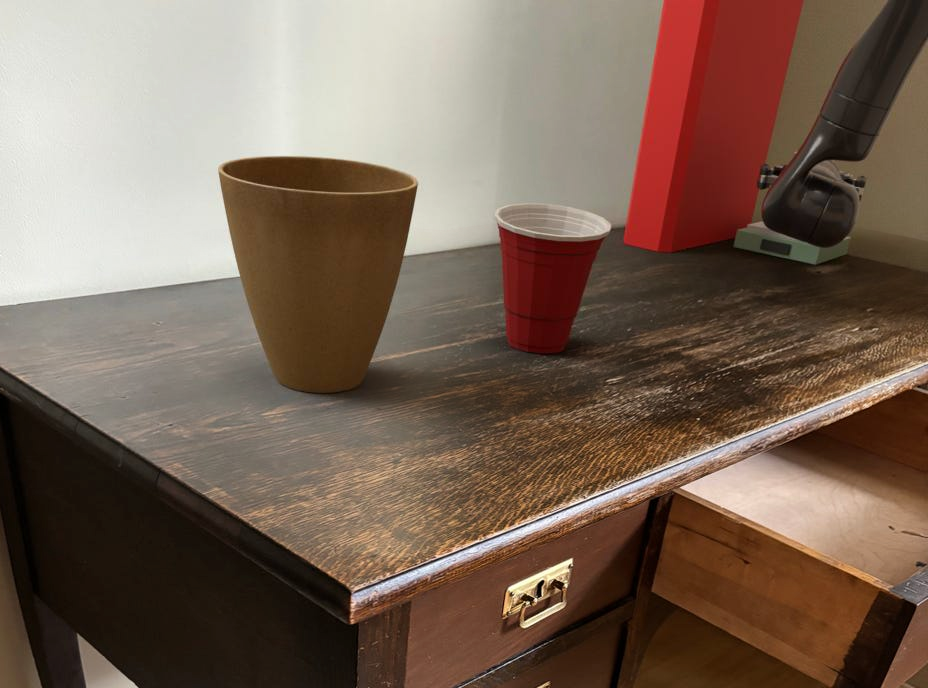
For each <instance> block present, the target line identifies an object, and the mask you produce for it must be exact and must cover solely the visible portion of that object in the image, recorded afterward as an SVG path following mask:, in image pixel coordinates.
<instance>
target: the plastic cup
mask: <svg viewBox="0 0 928 688" xmlns="http://www.w3.org/2000/svg"><path fill="white" fill-rule="evenodd" d="M493 218H494V221H495V222H496V225H497V229H498V236H499V239H500V241H499V242H500V250H501V264H502V265H501V266H502V285H503V286H502V288H503V307H504V309H505V312H504V313H505V335H506V337H507V339H506V340H507V344H508V345H509V346H510V347H512V348H514V349H516V350H520V351H522V352H527V353H534V354H557V353H560V352H562V351H564V350H565V348H566V345H567V343H568V341H569V338H570V335H571V331H572V328H573V324H574V321H575V318H576V317H577V315H578V312H579V309H580V305H581V302H582V299H583V296H584V293H585V290H586V286H587V283H588V280H589V276H590V273H591V271H592V268H593V264H594V262H595V260H596V258H597V255H598V251H600V248H601V246H602V243H603V242H604V240H605V239H606V237H607V236H609V235H610V231H611V228H612V223H611V222H609V221H608V220H607V219H606V218H605V217H603V216H600V215H598V214H596V213H593V212H591V211H587V210H583V209H579V208H576V207H571V206H565V205H558V204H550V203H528V202H526V203H525V202H524V203H516V204H515V203H514V204H507V205H505V206H502V207H498V208H496V210H495V212H494V214H493Z"/></svg>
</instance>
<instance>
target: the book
mask: <svg viewBox="0 0 928 688" xmlns="http://www.w3.org/2000/svg"><path fill="white" fill-rule="evenodd" d="M804 1H805V0H663V1H662V2H663V3H662V8H661V15H660V21H659V25H658V32H657V39H656V45H655V49H654V55H653V62H652V68H651V74H650V79H649V86H648V92H647V98H646V104H645V108H644V109H645V110H644V115H643V122H642V126H641V127H642V128H641V134H640V140H639V145H638V151H637V157H636V162H635V167H634V168H635V170H634V175H633V181H632V187H631V192H630V197H629V198H630V199H629V204H628V210H627V216H626V223H625V229H624V234H623V241H622V242H623V244H624V245H628V246H632V247H636V248H640V249H645V250H648V251H649V250H650V251H653V252H659V253H674V252H678V250H679V251H683V250H687V248H688V249H691V248H696V247H701V246H705V245H710V244H714V243H718V242H722V241H723V242H724V241H727V240H730V239H735V238H736V233H737V230H739V229H743V228H747V225H748V224H752V223H753V217H754V215H755V209H756V206H757V205H756V204H757V200H758V196H759V192H760V188H757V180H758V178H759V173H760V167H761V164H767V163H766V161H767V159H768V154H769V149H770V146H771V141H772V137H773V132H774V128H775V124H776V120H777V115H778V111H779V106H780V102H781V99H782V95H783V90H784V85H785V80H786V78H787V73H788V68H789V65H790V60H791V55H792V52H793V48H794V43H795V39H796V34H797V30H798V26H799V23H800V17H801V14H802V9H803V5H804Z"/></svg>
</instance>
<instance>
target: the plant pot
mask: <svg viewBox="0 0 928 688" xmlns="http://www.w3.org/2000/svg"><path fill="white" fill-rule="evenodd" d="M217 171H218V177H219V185H220V190H221V195H222V201H223V205H224V211H225V215H226V222H227V226H228V231H229V237H230V241H231V244H232V249H233V254H234V258H235V262H236V265H237V266H236V267H237V270H238V273H239V278H240V281H241V285H242V289H243V291H244V295H245V298H246V301H247V306H248V308H249V311H250V315H251V318H252V322H253V324H254V327H255V329H256V333H257V336H258V338H259V341H260V343H261V346H262V349H263V352H264V355H265V356H266V357H265V358H266V360H267V362H268V364H269V366H270V369H271V371H272V374H273V376H274V378H275V380H276V381H277V382H278V383H279V384H281V385H282V386H284V387H286V388H289V389H291V390H294V391H299V392H305V393H316V394H317V393H318V394H324V393H325V394H331V393H341V392H346V391H349V390H352V389H354V388H357V387H358V386H360V385H361V384H362V383H363V381H364V378H365V376H366V373H367V371H368V369H369V366H370V363H371V361H372V359H373V356H374V354H375V351H376V348H377V346H378V343H379V341H380V338H381V335H382V332H383V331H384V330H383V329H384V326H385V324H386V321H387V317H388V315H389V312H390V309H391V305H392V302H393V299H394V295H395V291H396V289H397V288H396V287H397V284H398V280H399V277H400V272H401V269H402V265H403V261H404V257H405V251H406V248H407V243H408V238H409V235H410V228H411V223H412V218H413V212H414V208H415V207H414V206H415V202H416V197H417V192H418V187H419V181H418V179H417V178H416V177H414V176H413V175H411V174H409V173H407V172H405V171H401V170H400V169H399V170H398V169H396V168H393V167H389V166H385V165H381V164H375V163H371V162H365V161H359V160H353V159H344V158H335V157H334V158H333V157H324V156H323V157H321V156H307V155H265V156H252V157H243V158H237V159H232V160H227V161H225V162H223V163H221V164H220V165H219V166H218V167H217Z"/></svg>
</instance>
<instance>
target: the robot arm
mask: <svg viewBox="0 0 928 688" xmlns="http://www.w3.org/2000/svg"><path fill="white" fill-rule="evenodd" d="M927 44H928V0H886V1H885V3H884V4H883V5H882V6H881V8H880V10H879V11H878V12H877V13H876V15H875V16H874V17H873V19H872V20H871V21H870V22H869V24H868V25H867V27H866V28H865V29H864V30H863V32H862V33H861V34H860V36H859V37H858V38H857V40H855V42H854V44H853V45H852V47H851V48H850V49H849V51H848V53H847V54H846V56H845V58H844V59H843V61H842V63H841V65H840V66H839V68H838V71H837V73H836V75H835V77H834V79H833V81H832V83H831V85H830V88H829V90H828V92H827V95H826V97H825V98H824V101H823V103H822V106H821V108H820V110H819V113H818V114H817V117H816V119H815V121H814V123H813V125H812V127H811V129H810V131H809V133H808V135H807V136H806V138H805V140H804V141H803V143H802V144H801V146H800V147H799V149H798V150H797V151H796V152H797V153H796V154H795V156H794V155H793V157H792V158H791V160H790V161H789V162H788V164H782V163H781V164H777V165H774V166H773V168H771V165H769V164H768V163H765V164H761V167H760V173H759V178H758V180H757V188H759V191H760V190H761V191H763V190H766V189H768V190H767V191H766V194H764V195H765V196H764V197H763V200H762V204H761V209H760V210H761V219H762V221H763V223H764V225H765V226H766V227H767V228H768V229H770V230H772V231H774V232H777V233H780V234H783V235H786V236H788V237H791V238H794V239H797V240H800V241H802V242H805V243H806V242H807V243H808V244H811V245H813V246H817V247H821V248H829V247H833V246H835V245H837V244H839V243H840V242H841V241H843V240H844V239H845V238H846V237H848V235H849V234H850V233H851V231H852V230H853V228H854V226H855V224H856V222H857V220H858V216H859V212H860V202H861V200H862V197H863V194H864V190H865V187H866V184H867V179H868V177H866V176H865V175H860V176H857V178H853V177H854V175H853V174H851V173H848V172H845V171H841V170H839V168H838V166H837V165H836V164H835V162H834V163H833V162H832V161H831V160H834V161H840V162H849V163H850V162H851V163H857V162H861V161H864V160H865V159H867V158H868V157H869V155H870V154H871V153H872V151H873V150H874V147H875V146H876V144H877V142H878V140H879V138H880V136H881V134H882V132H883V129H884V128H885V126H886V124H887V122H888V119H889V117H890V115H891V113H892V111H893V109H894V107H895V105H896V103H897V102H898V99H899V97H900V95H901V93H902V91H903V89H904V87H905V84H906V83H907V81H908V79H909V77H910V75H911V73H912V71H913V69H914V68H915V65H916V64H917V62H918V60H919V58H920V57H921V54H922V53H923V51H924V50H925V48H926V46H927Z"/></svg>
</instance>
